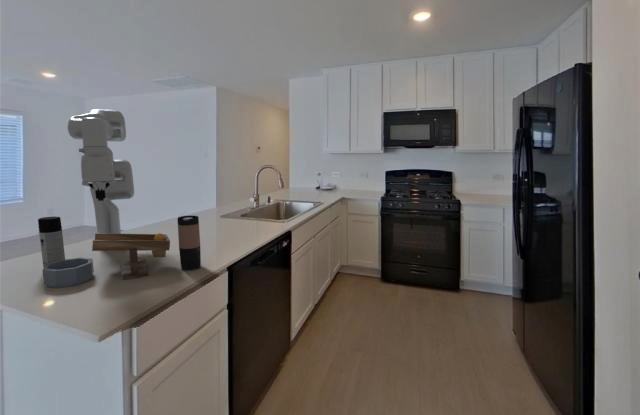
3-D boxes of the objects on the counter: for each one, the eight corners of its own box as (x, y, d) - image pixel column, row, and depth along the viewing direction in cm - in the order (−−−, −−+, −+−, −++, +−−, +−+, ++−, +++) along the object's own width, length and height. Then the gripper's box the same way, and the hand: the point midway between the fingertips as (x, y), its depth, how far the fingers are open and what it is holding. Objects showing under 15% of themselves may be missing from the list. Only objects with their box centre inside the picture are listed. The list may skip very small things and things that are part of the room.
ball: (152, 241, 127) (154, 231, 126) (163, 242, 129) (165, 233, 129) (153, 244, 123) (155, 234, 123) (164, 245, 125) (166, 235, 125)
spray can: (52, 266, 127) (45, 216, 124) (70, 265, 128) (64, 216, 124) (39, 272, 120) (32, 219, 117) (58, 271, 121) (52, 219, 118)
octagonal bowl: (50, 277, 115) (47, 261, 114) (94, 271, 122) (93, 255, 121) (42, 291, 104) (39, 273, 103) (92, 283, 111) (90, 266, 110)
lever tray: (95, 245, 127) (96, 228, 127) (163, 245, 140) (164, 230, 139) (91, 259, 110) (92, 240, 110) (168, 258, 123) (170, 241, 122)
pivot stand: (122, 265, 128) (120, 239, 127) (145, 262, 133) (143, 237, 131) (122, 280, 113) (119, 251, 112) (148, 276, 117) (145, 248, 116)
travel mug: (193, 263, 132) (190, 214, 129) (205, 266, 128) (202, 216, 124) (176, 268, 126) (172, 217, 123) (188, 272, 121) (184, 220, 118)
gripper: (69, 151, 115) (75, 202, 117) (119, 151, 122) (123, 200, 125) (72, 152, 121) (78, 200, 123) (119, 152, 129) (123, 198, 131)
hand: (101, 200), depth 124 cm, fingers closed
